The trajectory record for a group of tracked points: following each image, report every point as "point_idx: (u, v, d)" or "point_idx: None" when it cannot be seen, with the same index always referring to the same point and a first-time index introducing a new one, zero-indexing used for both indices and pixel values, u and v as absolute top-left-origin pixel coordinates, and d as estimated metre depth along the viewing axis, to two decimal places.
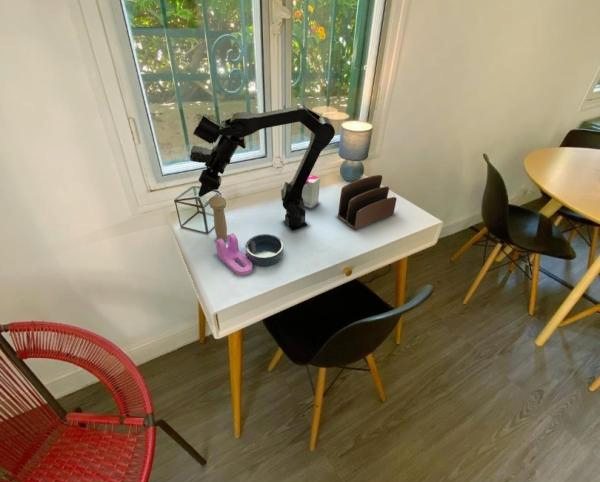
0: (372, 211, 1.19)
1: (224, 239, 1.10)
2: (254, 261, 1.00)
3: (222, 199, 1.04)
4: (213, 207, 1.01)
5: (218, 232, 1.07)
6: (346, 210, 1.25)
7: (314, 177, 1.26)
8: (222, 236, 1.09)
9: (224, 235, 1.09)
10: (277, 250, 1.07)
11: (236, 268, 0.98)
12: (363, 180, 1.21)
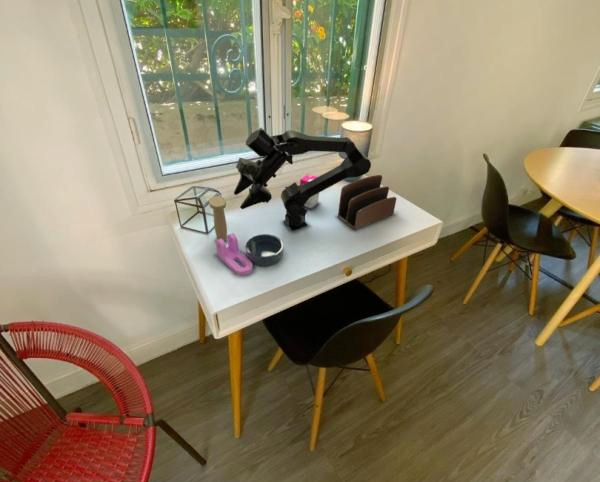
0: (372, 211, 1.19)
1: (224, 239, 1.10)
2: (254, 261, 1.00)
3: (222, 199, 1.04)
4: (213, 207, 1.01)
5: (218, 232, 1.07)
6: (346, 210, 1.25)
7: (314, 177, 1.26)
8: (222, 236, 1.09)
9: (224, 235, 1.09)
10: (277, 250, 1.07)
11: (236, 268, 0.98)
12: (363, 180, 1.21)
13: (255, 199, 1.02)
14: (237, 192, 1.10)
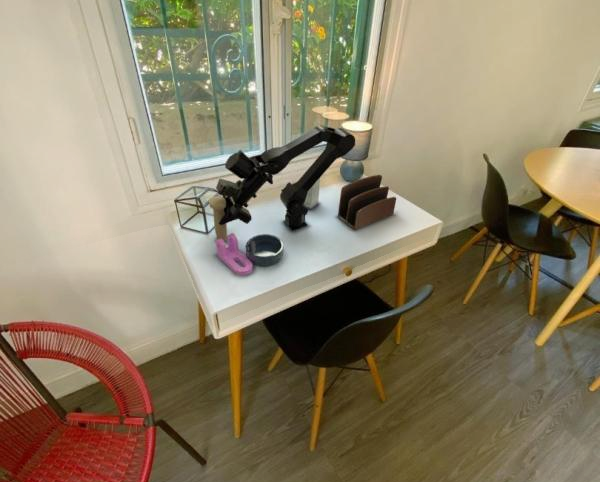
0: (372, 211, 1.19)
1: (224, 239, 1.10)
2: (254, 261, 1.00)
3: (222, 199, 1.04)
4: (213, 207, 1.01)
5: (218, 232, 1.07)
6: (346, 210, 1.25)
7: None
8: (222, 236, 1.09)
9: (224, 235, 1.09)
10: (277, 250, 1.07)
11: (236, 268, 0.98)
12: (363, 180, 1.21)
13: (233, 215, 1.04)
14: None
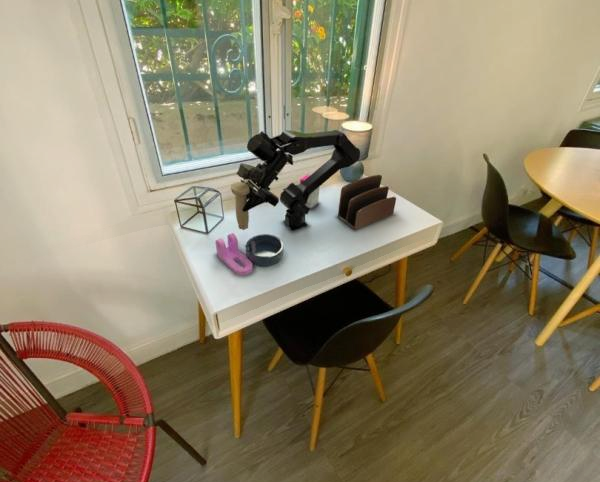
0: (372, 211, 1.19)
1: (246, 227, 1.06)
2: (254, 261, 1.00)
3: (244, 184, 1.00)
4: (237, 193, 0.97)
5: (241, 220, 1.04)
6: (346, 210, 1.25)
7: None
8: (245, 223, 1.05)
9: (247, 222, 1.05)
10: (277, 250, 1.07)
11: (236, 268, 0.98)
12: (363, 180, 1.21)
13: (257, 200, 1.01)
14: None
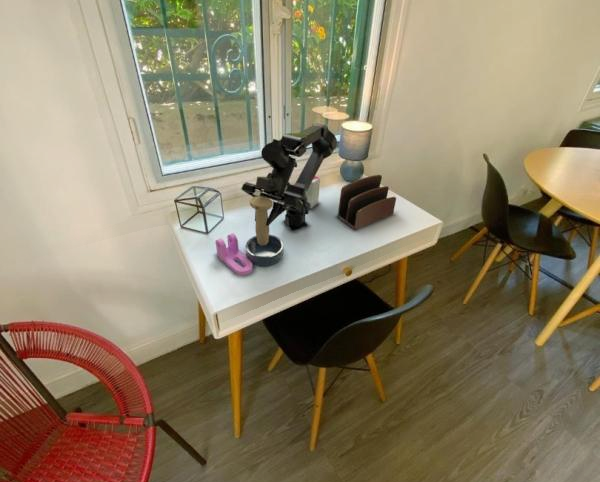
0: (372, 211, 1.19)
1: (267, 241, 1.01)
2: (254, 261, 1.00)
3: (262, 198, 0.94)
4: (264, 208, 0.91)
5: (264, 235, 0.98)
6: (346, 210, 1.25)
7: (314, 177, 1.26)
8: (267, 238, 1.00)
9: (268, 236, 1.00)
10: (277, 250, 1.07)
11: (236, 268, 0.98)
12: (363, 180, 1.21)
13: (278, 210, 0.97)
14: None
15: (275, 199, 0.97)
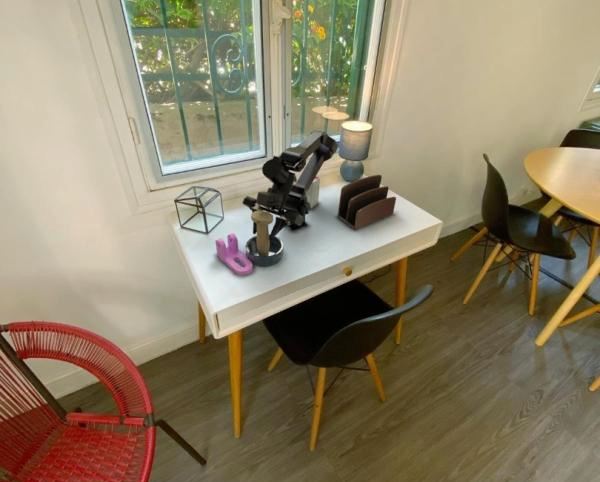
0: (372, 211, 1.19)
1: (268, 253, 1.04)
2: (254, 261, 1.00)
3: (263, 212, 0.98)
4: (265, 222, 0.94)
5: (265, 248, 1.01)
6: (346, 210, 1.25)
7: None
8: (268, 250, 1.03)
9: None
10: (277, 250, 1.07)
11: (236, 268, 0.98)
12: (363, 180, 1.21)
13: (281, 225, 1.00)
14: (256, 231, 1.01)
15: (275, 213, 1.00)
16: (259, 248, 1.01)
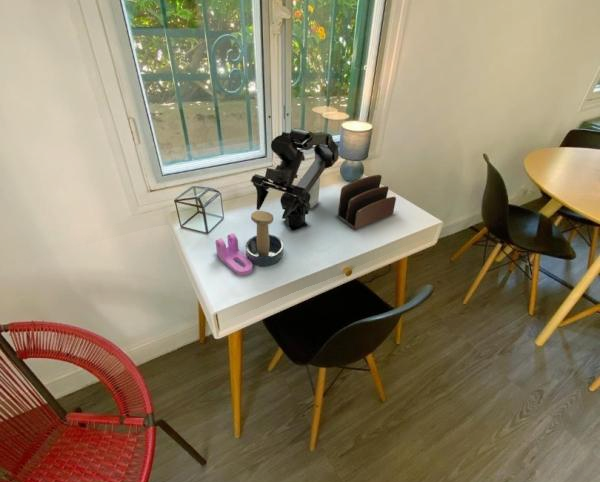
0: (372, 211, 1.19)
1: (268, 253, 1.04)
2: (254, 261, 1.00)
3: (263, 212, 0.98)
4: (265, 222, 0.94)
5: (265, 248, 1.01)
6: (346, 210, 1.25)
7: None
8: (268, 250, 1.03)
9: None
10: (277, 250, 1.07)
11: (236, 268, 0.98)
12: (363, 180, 1.21)
13: (294, 204, 1.00)
14: (259, 207, 1.02)
15: (283, 190, 1.00)
16: (259, 248, 1.01)
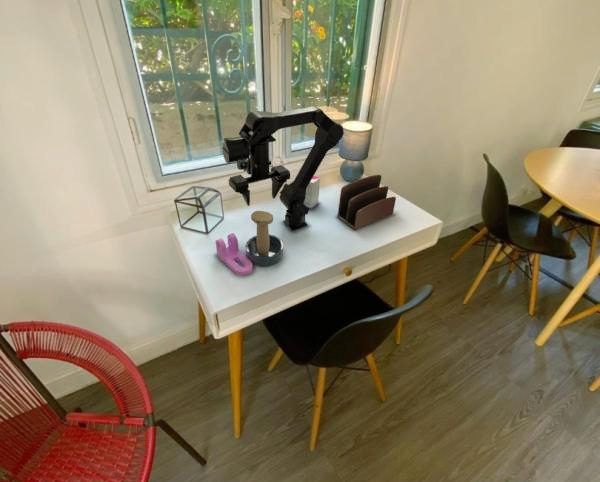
0: (372, 211, 1.19)
1: (268, 253, 1.04)
2: (254, 261, 1.00)
3: (263, 212, 0.98)
4: (265, 222, 0.94)
5: (265, 248, 1.01)
6: (346, 210, 1.25)
7: (314, 177, 1.26)
8: (268, 250, 1.03)
9: None
10: (277, 250, 1.07)
11: (236, 268, 0.98)
12: (362, 180, 1.21)
13: None
14: (273, 195, 1.09)
15: None
16: (259, 248, 1.01)
